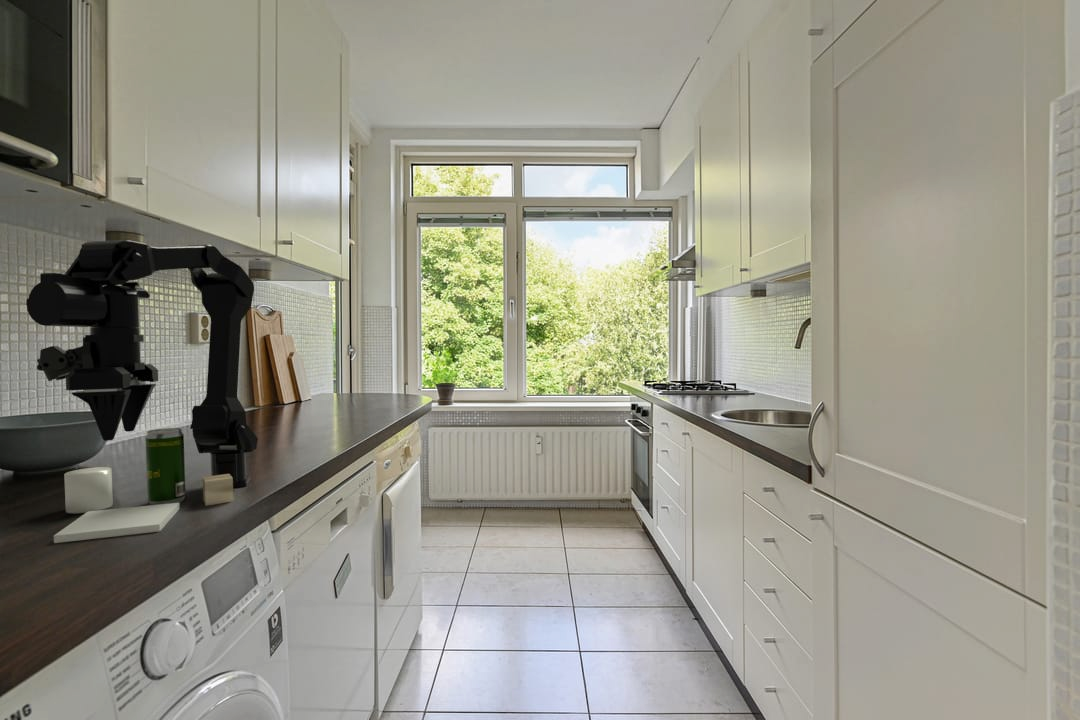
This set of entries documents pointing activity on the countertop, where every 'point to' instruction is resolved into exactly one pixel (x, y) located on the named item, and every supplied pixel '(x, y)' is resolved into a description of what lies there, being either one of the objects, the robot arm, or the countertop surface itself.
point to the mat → (118, 522)
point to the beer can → (165, 466)
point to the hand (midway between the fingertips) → (119, 435)
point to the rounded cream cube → (88, 489)
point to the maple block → (217, 489)
